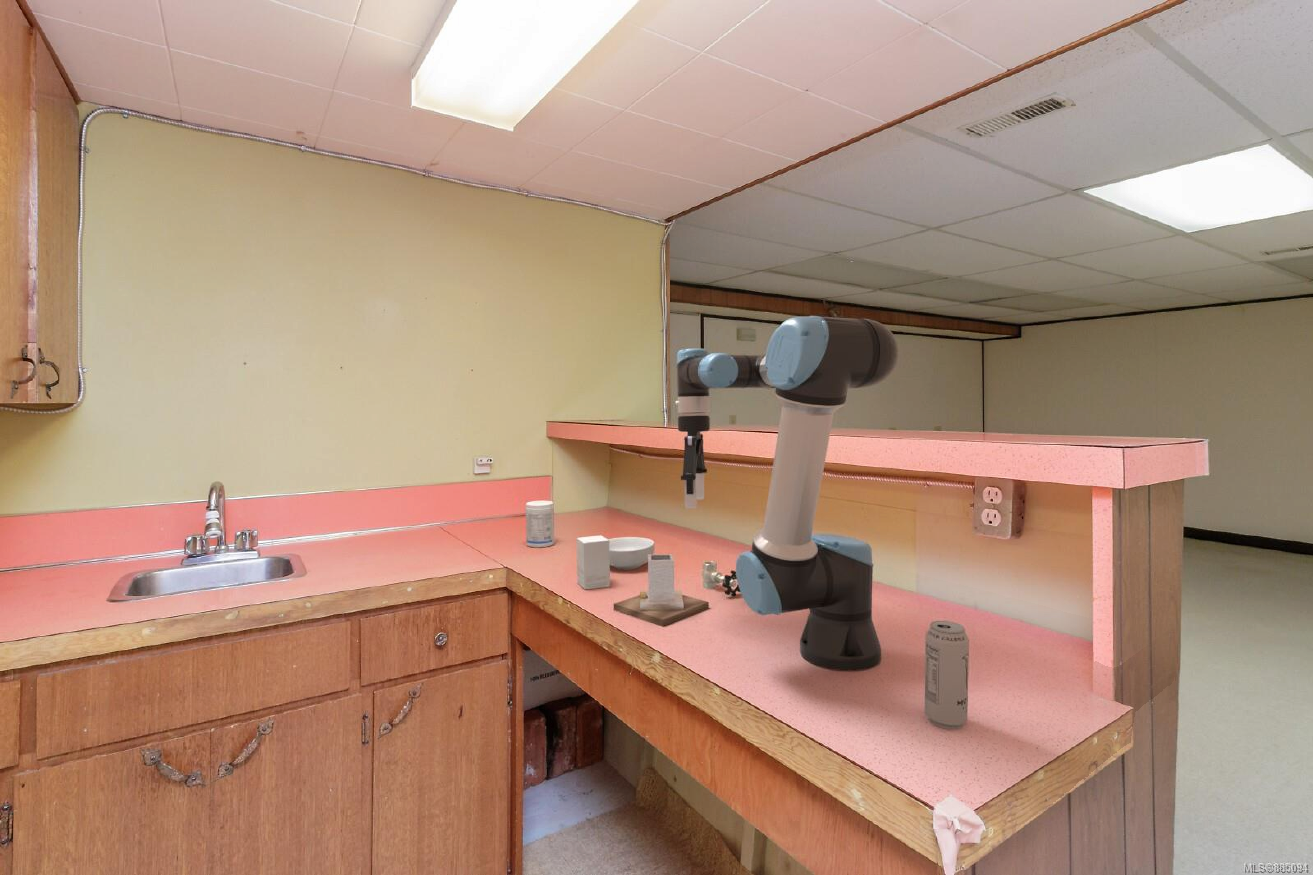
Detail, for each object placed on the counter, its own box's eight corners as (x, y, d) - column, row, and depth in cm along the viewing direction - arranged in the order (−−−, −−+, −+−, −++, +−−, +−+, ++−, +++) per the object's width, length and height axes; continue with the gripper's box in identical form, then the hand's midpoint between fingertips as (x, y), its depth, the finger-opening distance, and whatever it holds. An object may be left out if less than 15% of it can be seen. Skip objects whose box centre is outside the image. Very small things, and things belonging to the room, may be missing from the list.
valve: (695, 587, 167) (724, 599, 157) (695, 563, 167) (724, 573, 157) (714, 583, 171) (744, 594, 161) (714, 559, 171) (744, 568, 161)
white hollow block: (680, 595, 155) (680, 551, 155) (683, 609, 145) (683, 562, 145) (640, 596, 155) (639, 552, 154) (640, 610, 145) (639, 563, 144)
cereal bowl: (602, 558, 198) (602, 536, 197) (655, 558, 197) (655, 536, 197) (595, 574, 181) (594, 549, 180) (653, 574, 180) (653, 549, 180)
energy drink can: (969, 734, 94) (971, 635, 93) (924, 727, 96) (926, 630, 95) (965, 715, 99) (967, 622, 98) (923, 708, 101) (925, 617, 100)
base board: (708, 608, 151) (708, 577, 150) (662, 626, 139) (662, 592, 139) (660, 594, 162) (659, 565, 161) (613, 609, 150) (613, 578, 150)
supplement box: (610, 587, 168) (610, 540, 168) (583, 590, 166) (583, 542, 165) (602, 579, 175) (602, 534, 174) (576, 582, 172) (575, 537, 172)
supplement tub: (531, 541, 222) (530, 500, 222) (557, 541, 222) (556, 500, 221) (522, 548, 213) (521, 505, 212) (550, 548, 212) (549, 505, 211)
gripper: (686, 414, 163) (687, 495, 164) (668, 415, 138) (670, 512, 139) (715, 413, 161) (716, 496, 162) (702, 415, 137) (704, 512, 138)
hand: (695, 503), depth 151 cm, fingers open, 13 cm apart
